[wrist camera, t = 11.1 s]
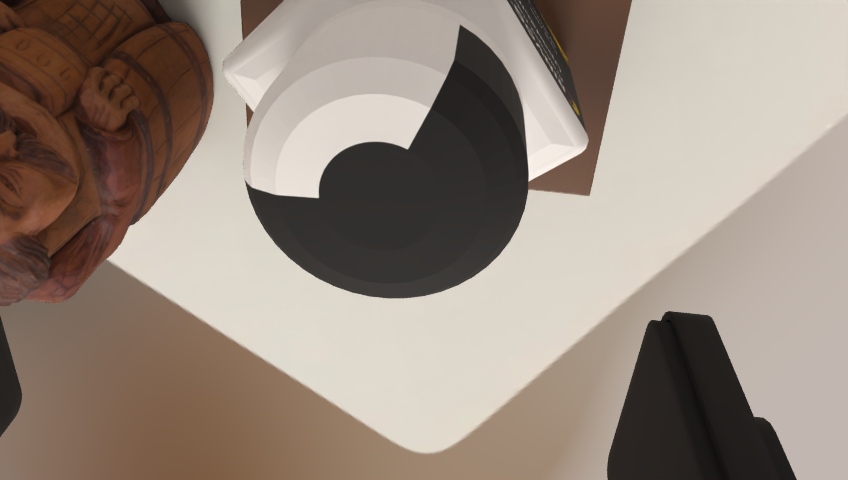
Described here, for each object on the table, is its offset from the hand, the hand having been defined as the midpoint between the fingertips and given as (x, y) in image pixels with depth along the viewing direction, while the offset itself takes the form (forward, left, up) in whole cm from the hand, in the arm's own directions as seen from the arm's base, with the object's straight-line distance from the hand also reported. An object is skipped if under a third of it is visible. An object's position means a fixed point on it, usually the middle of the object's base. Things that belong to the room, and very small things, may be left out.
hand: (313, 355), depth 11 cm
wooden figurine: (+5, -15, -27) cm, 32 cm away
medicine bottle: (0, 0, -17) cm, 17 cm away
